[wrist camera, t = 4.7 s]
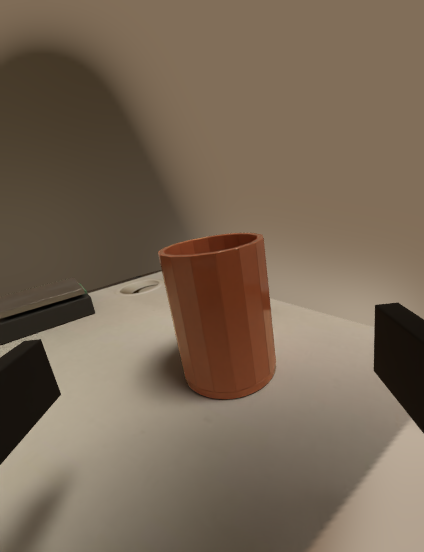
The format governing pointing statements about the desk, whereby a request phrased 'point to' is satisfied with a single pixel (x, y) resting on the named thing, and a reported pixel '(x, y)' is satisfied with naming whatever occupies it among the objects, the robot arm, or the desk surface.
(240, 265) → the cup
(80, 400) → the desk surface
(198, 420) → the desk surface
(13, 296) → the pan
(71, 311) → the scale base
